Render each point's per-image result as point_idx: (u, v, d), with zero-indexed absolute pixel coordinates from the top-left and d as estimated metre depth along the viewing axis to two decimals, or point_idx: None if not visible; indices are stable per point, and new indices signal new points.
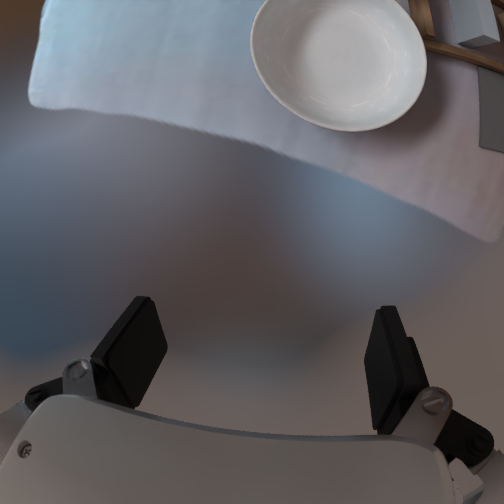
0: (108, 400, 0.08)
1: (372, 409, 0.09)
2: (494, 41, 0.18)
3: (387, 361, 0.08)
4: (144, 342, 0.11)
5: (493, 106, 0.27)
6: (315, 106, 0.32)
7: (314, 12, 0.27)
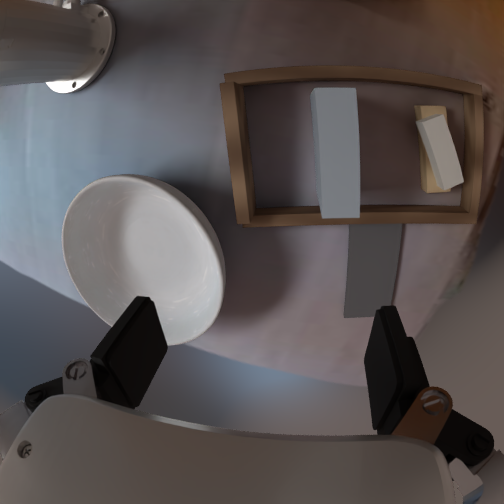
0: (108, 400, 0.08)
1: (372, 409, 0.09)
2: None
3: (387, 361, 0.08)
4: (144, 342, 0.11)
5: (370, 269, 0.31)
6: None
7: (121, 203, 0.31)
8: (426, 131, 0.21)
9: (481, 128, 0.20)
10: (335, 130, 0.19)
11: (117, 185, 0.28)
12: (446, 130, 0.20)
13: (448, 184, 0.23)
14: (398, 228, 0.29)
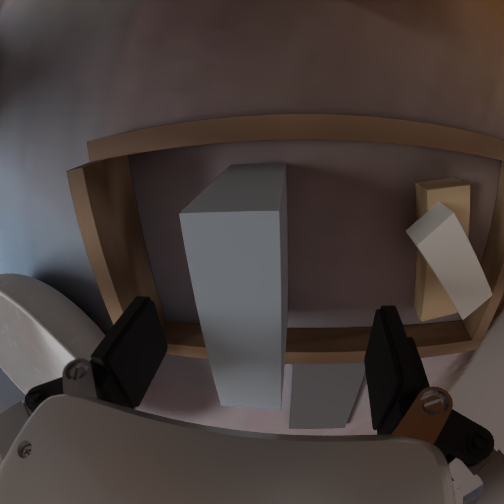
0: (108, 400, 0.08)
1: (372, 409, 0.09)
2: None
3: (387, 361, 0.08)
4: (144, 342, 0.11)
5: (321, 394, 0.23)
6: None
7: None
8: (426, 256, 0.13)
9: None
10: (230, 302, 0.10)
11: None
12: (461, 237, 0.12)
13: (468, 310, 0.14)
14: None
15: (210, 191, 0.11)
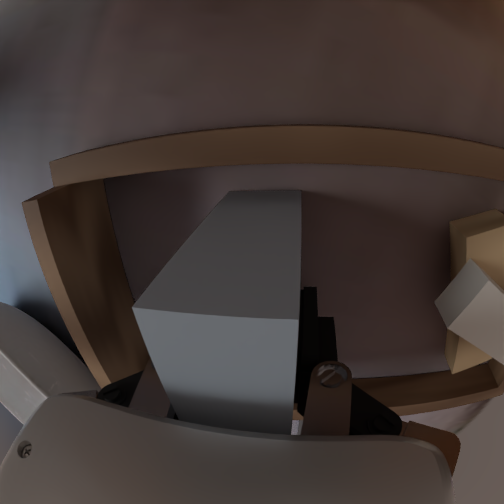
0: None
1: None
2: None
3: None
4: None
5: None
6: None
7: None
8: (459, 333, 0.09)
9: None
10: (219, 414, 0.06)
11: None
12: (499, 300, 0.08)
13: None
14: None
15: (190, 250, 0.07)
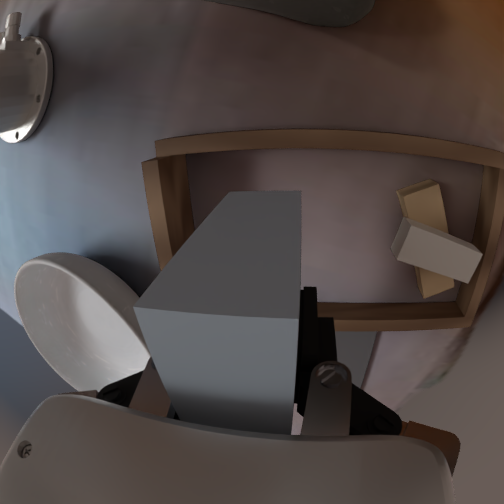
0: None
1: None
2: None
3: None
4: None
5: None
6: (99, 365, 0.32)
7: None
8: (407, 262, 0.18)
9: (500, 215, 0.16)
10: (220, 414, 0.06)
11: None
12: (427, 236, 0.17)
13: (468, 275, 0.17)
14: None
15: (191, 250, 0.07)
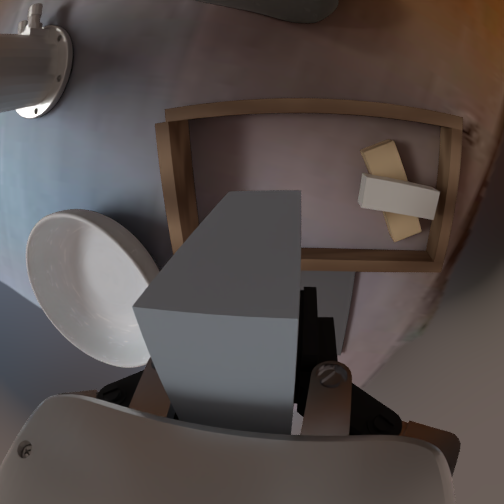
0: None
1: None
2: None
3: None
4: None
5: (319, 312, 0.31)
6: (100, 325, 0.36)
7: (78, 231, 0.30)
8: (372, 208, 0.22)
9: (457, 168, 0.20)
10: (219, 414, 0.06)
11: None
12: (383, 183, 0.21)
13: (431, 212, 0.21)
14: (350, 273, 0.28)
15: (190, 250, 0.07)
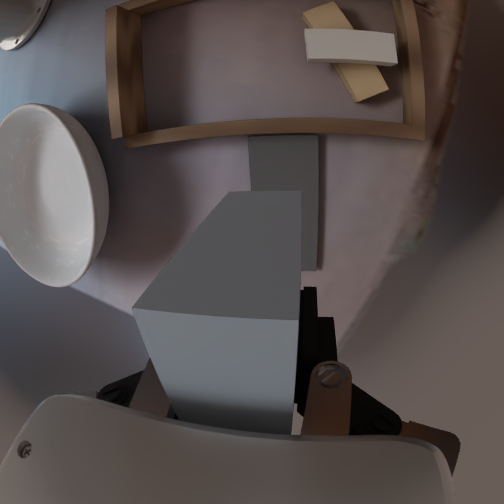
0: None
1: None
2: None
3: None
4: None
5: None
6: (51, 247, 0.31)
7: (37, 140, 0.25)
8: (320, 57, 0.17)
9: (414, 23, 0.15)
10: (219, 415, 0.06)
11: (30, 120, 0.23)
12: (325, 32, 0.16)
13: (391, 55, 0.16)
14: (312, 146, 0.23)
15: (190, 251, 0.07)
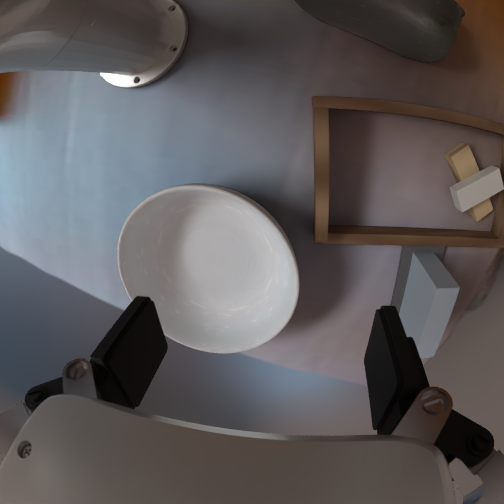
0: (108, 400, 0.08)
1: (372, 409, 0.09)
2: None
3: (387, 361, 0.08)
4: (144, 342, 0.11)
5: None
6: (194, 312, 0.38)
7: (186, 210, 0.33)
8: (467, 208, 0.25)
9: None
10: (438, 314, 0.25)
11: (188, 193, 0.30)
12: (467, 188, 0.24)
13: (500, 185, 0.22)
14: (441, 249, 0.30)
15: (431, 276, 0.26)
